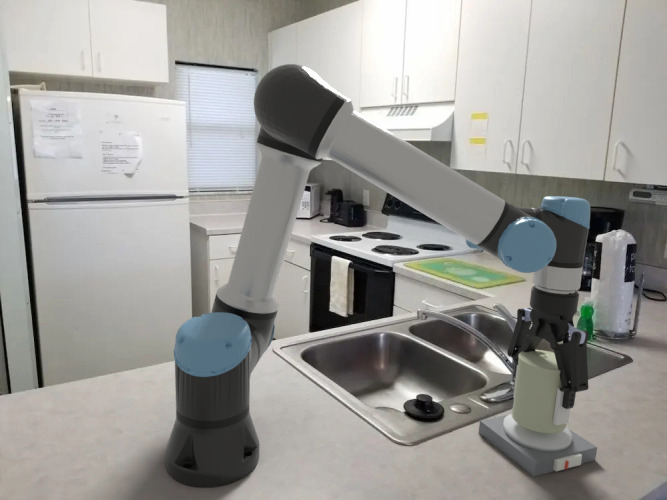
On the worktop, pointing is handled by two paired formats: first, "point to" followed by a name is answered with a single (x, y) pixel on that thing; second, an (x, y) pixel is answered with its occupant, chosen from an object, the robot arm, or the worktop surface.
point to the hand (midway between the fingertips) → (539, 409)
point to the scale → (537, 446)
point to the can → (537, 391)
